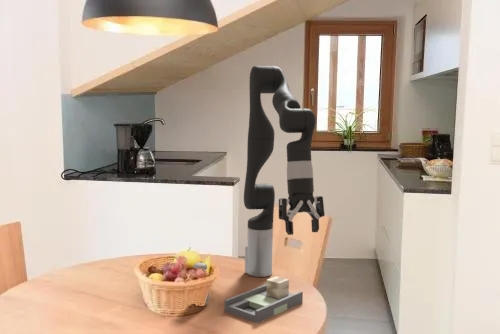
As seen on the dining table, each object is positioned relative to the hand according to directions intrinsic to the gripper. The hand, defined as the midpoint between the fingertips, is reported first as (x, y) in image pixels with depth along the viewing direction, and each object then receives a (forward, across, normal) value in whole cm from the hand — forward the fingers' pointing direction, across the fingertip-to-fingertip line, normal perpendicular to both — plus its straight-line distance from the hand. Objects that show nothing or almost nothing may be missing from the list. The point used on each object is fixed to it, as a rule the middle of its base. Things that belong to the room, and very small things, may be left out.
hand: (302, 233), depth 156 cm
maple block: (+20, -1, -18) cm, 27 cm away
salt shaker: (+22, +22, -26) cm, 41 cm away
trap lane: (+23, +5, -16) cm, 28 cm away
